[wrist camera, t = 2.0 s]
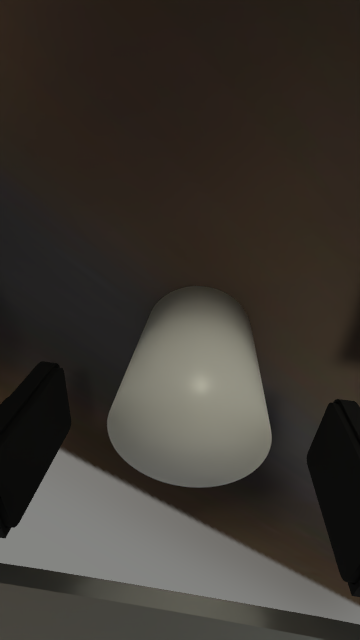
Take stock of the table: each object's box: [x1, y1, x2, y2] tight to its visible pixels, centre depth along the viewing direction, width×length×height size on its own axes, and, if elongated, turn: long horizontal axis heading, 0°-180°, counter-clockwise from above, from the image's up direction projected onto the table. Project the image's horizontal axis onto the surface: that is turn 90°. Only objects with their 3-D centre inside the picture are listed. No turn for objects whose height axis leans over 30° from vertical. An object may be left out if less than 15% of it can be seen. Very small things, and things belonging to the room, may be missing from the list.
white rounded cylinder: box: [107, 286, 272, 488], centre depth 12 cm, size 7×5×6 cm
